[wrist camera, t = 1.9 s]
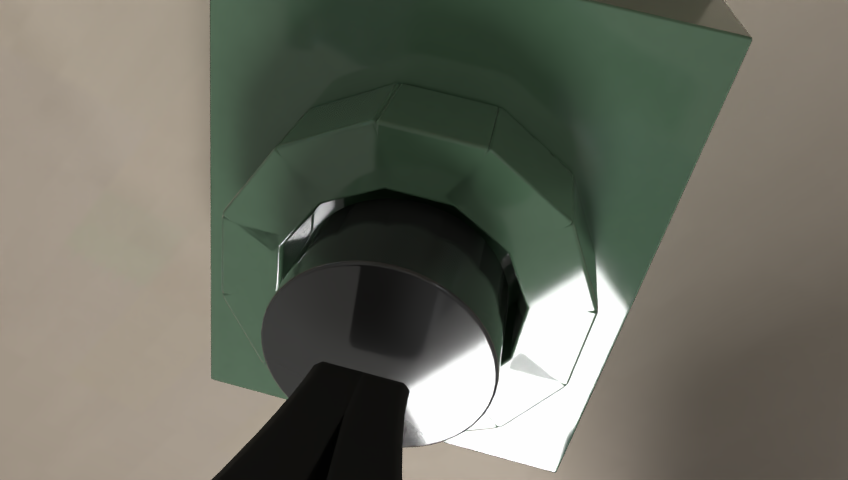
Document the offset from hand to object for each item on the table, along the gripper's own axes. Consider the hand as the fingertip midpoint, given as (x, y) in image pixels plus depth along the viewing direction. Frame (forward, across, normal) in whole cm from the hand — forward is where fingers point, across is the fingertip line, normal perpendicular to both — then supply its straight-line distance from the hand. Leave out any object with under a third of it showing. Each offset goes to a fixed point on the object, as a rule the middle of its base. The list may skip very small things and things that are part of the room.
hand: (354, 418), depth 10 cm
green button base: (+8, 0, 0) cm, 8 cm away
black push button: (+3, 0, 0) cm, 3 cm away
